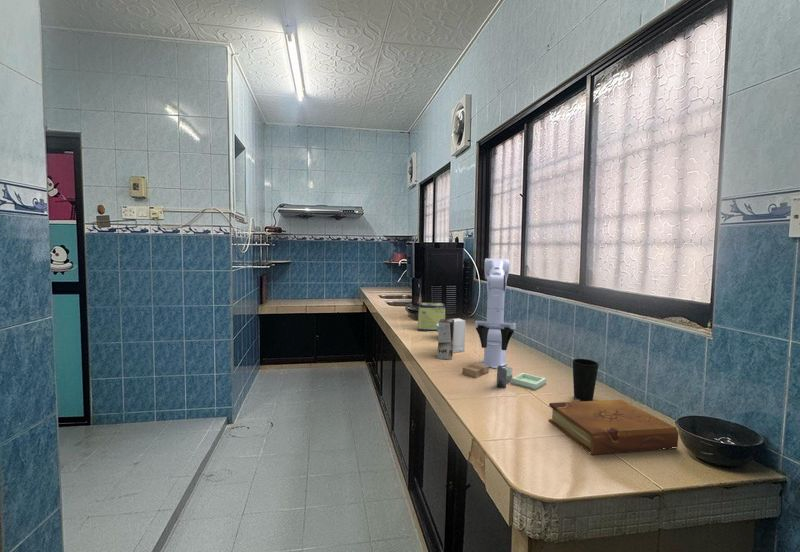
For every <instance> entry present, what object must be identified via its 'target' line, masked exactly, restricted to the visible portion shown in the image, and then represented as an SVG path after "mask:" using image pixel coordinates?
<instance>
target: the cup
mask: <svg viewBox="0 0 800 552" xmlns="http://www.w3.org/2000/svg"><path fill="white" fill-rule="evenodd" d="M598 371H599V363H598V362H597V361H595V360H593V359H587V358H586V359H585V358H573V359H572V380H573V385H572V386H573V397H574V398H575V399H576V400H578V401H580V402H581V401H594V395H595V389H596V383H597V377H598Z"/></svg>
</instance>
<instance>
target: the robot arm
mask: <svg viewBox="0 0 800 552" xmlns="http://www.w3.org/2000/svg"><path fill="white" fill-rule="evenodd" d="M483 268H484V270H483V271H484V278H485V279H486V290H487V292H486V294H487V299H486V300H487V304H486V305H487V306H486V320H475V321H474V326H475V331H477V334H478V337H479V340H480V344H481V348H482V349H484V350H483V352H484V354H483V361H482V362H480V363H479V364H482V365H486V366H489V368H492V369H496V370H497V366H506V365H508V362H506V358H507V357H506V355H507V349H508V345H509V341H510V340H511V338H512V335H514V332H515V330H516V328H517V326H516V325H517V323H515V322H514V323H512V322H504V320H505V319H504V318H505V317H504V316H505V296H506V295H505V294H506V293H505V292H506V290H507V280H508V277H509V273H510V259H508V258H487V257H486V258H485V259H484V267H483Z"/></svg>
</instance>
